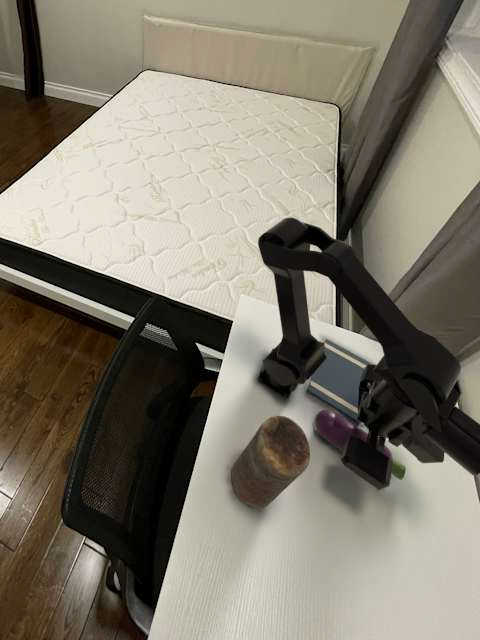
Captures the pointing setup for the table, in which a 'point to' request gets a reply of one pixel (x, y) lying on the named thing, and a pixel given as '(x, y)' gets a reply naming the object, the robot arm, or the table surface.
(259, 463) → the brown textured cylinder
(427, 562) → the table surface
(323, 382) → the towel
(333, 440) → the eggplant
